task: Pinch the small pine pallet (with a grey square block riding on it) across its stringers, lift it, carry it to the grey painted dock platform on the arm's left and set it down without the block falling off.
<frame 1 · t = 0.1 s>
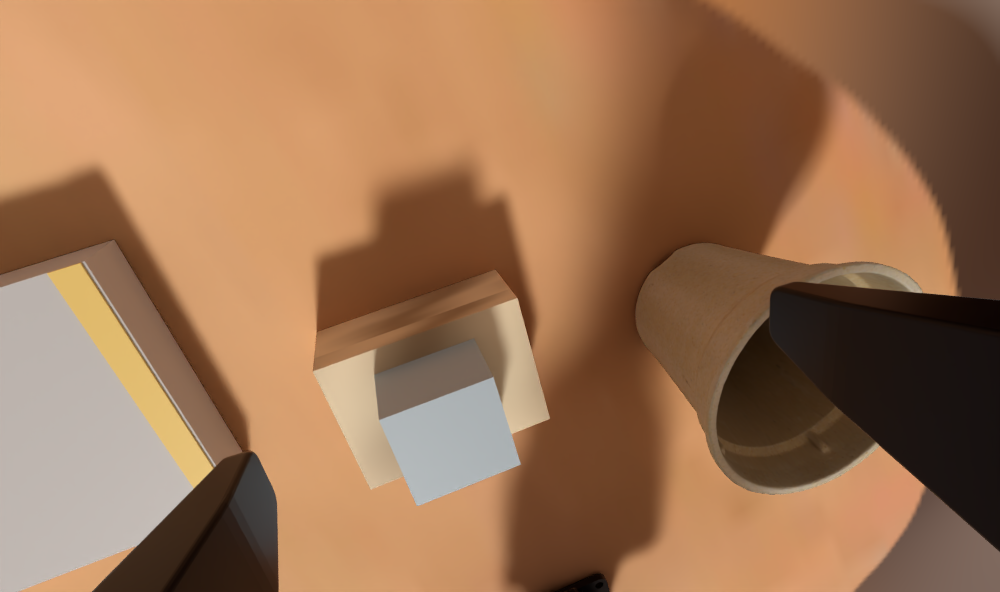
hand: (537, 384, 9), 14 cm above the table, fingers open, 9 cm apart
dock: (33, 419, 21), on the table
grey square block: (440, 397, 22), point 3 cm above the table, touching pallet
flower pot: (686, 298, 27), on the table
pallet: (428, 356, 25), on the table, touching grey square block
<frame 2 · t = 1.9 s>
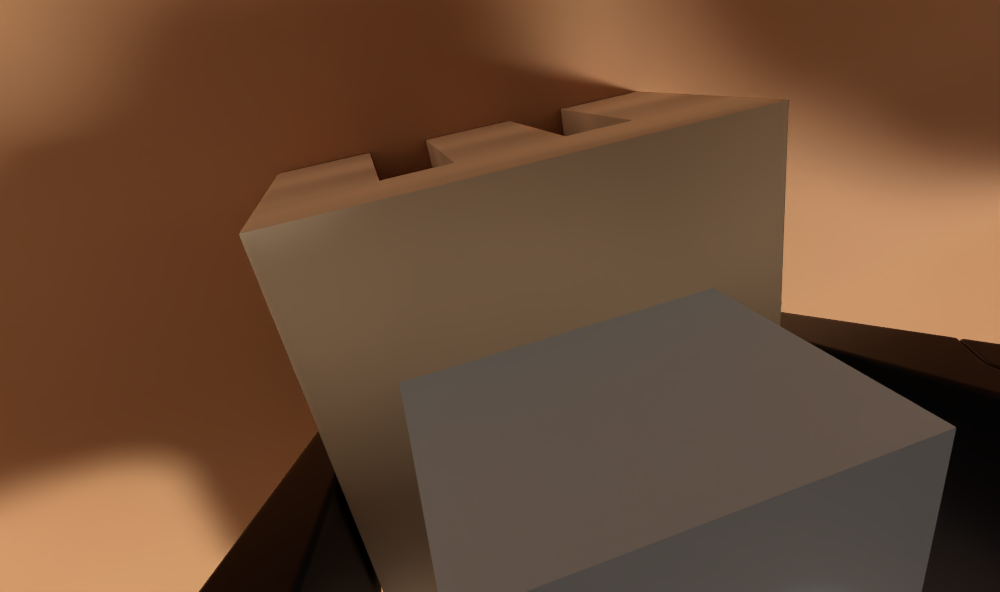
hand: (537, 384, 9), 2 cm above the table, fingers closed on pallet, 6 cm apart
grey square block: (584, 461, 7), point 3 cm above the table, touching pallet
pallet: (511, 343, 10), on the table, touching grey square block, gripper
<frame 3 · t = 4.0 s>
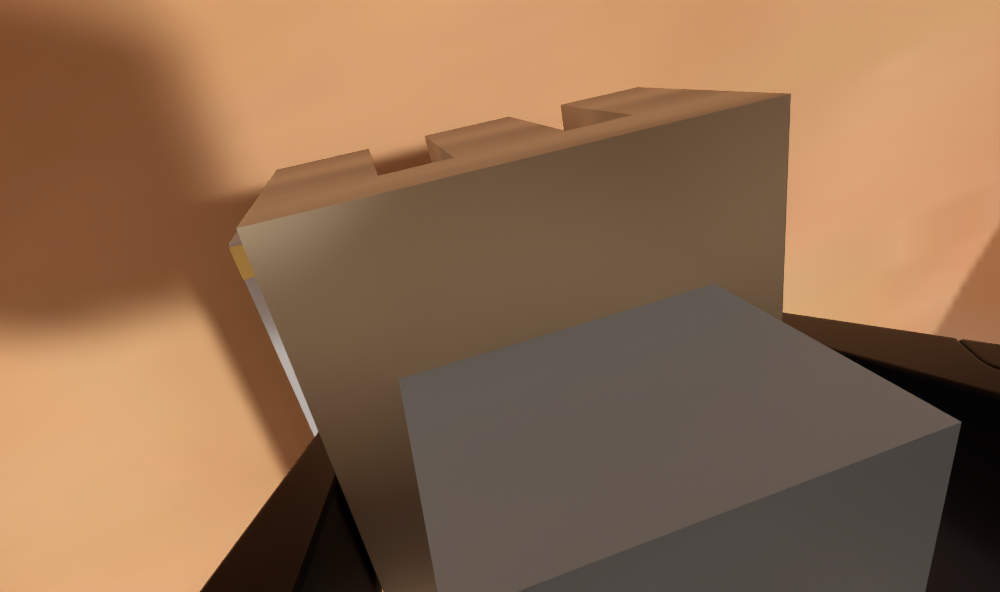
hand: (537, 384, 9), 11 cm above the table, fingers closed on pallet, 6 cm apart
dock: (450, 330, 21), on the table
grey square block: (584, 459, 7), point 13 cm above the table, touching pallet
pallet: (511, 340, 10), point 10 cm above the table, touching grey square block, gripper
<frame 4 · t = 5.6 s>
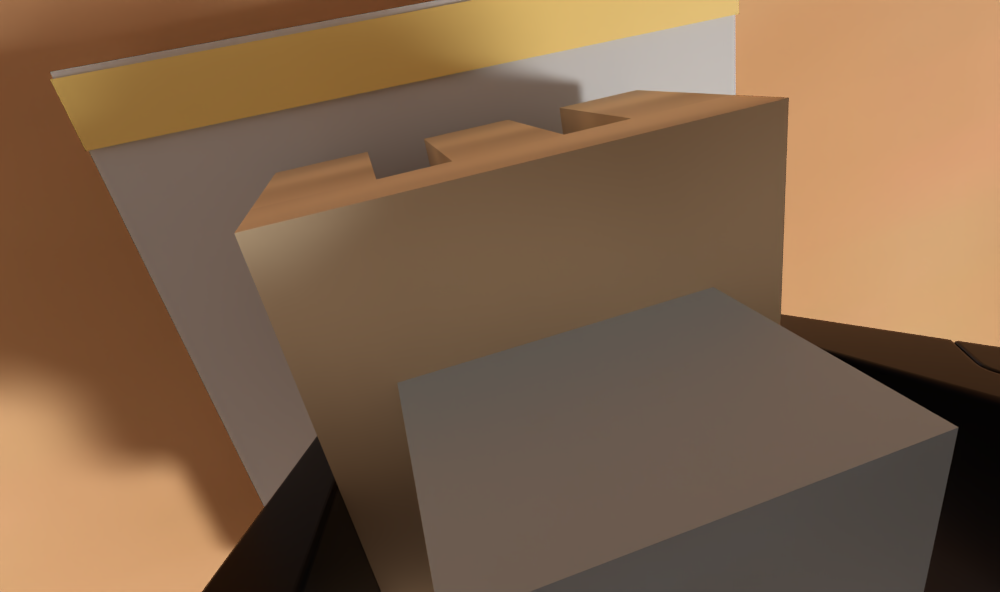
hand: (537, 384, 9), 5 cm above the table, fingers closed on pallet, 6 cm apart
dock: (472, 288, 13), on the table
grey square block: (583, 462, 7), point 7 cm above the table, touching pallet
pallet: (510, 343, 10), point 3 cm above the table, touching grey square block, gripper
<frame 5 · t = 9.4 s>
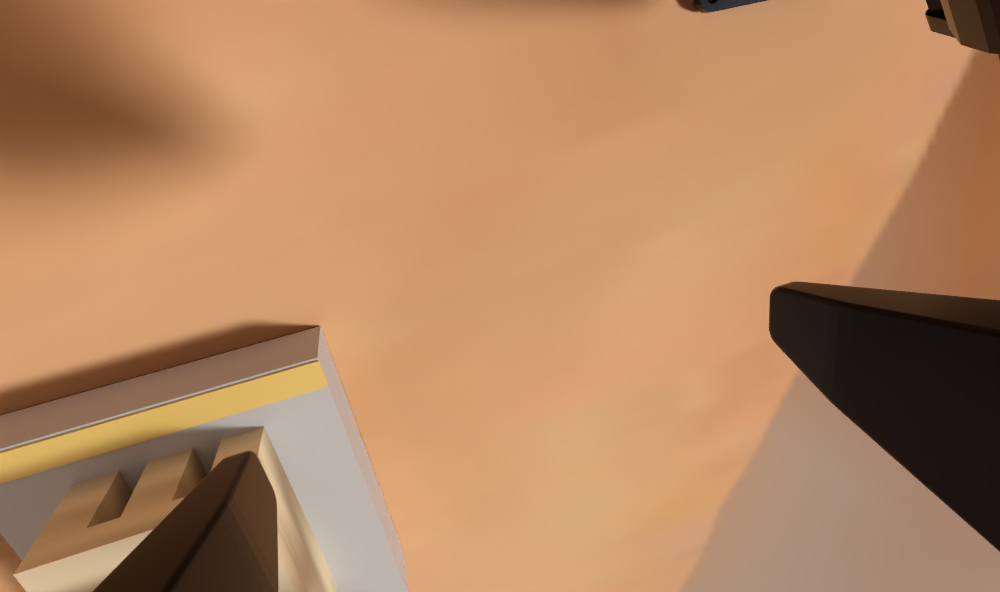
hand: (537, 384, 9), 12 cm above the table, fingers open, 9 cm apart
dock: (230, 494, 22), on the table
pallet: (219, 540, 20), point 2 cm above the table, touching grey square block, dock
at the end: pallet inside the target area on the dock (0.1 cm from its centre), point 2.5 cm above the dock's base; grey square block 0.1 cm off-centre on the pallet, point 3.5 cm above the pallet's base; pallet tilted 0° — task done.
